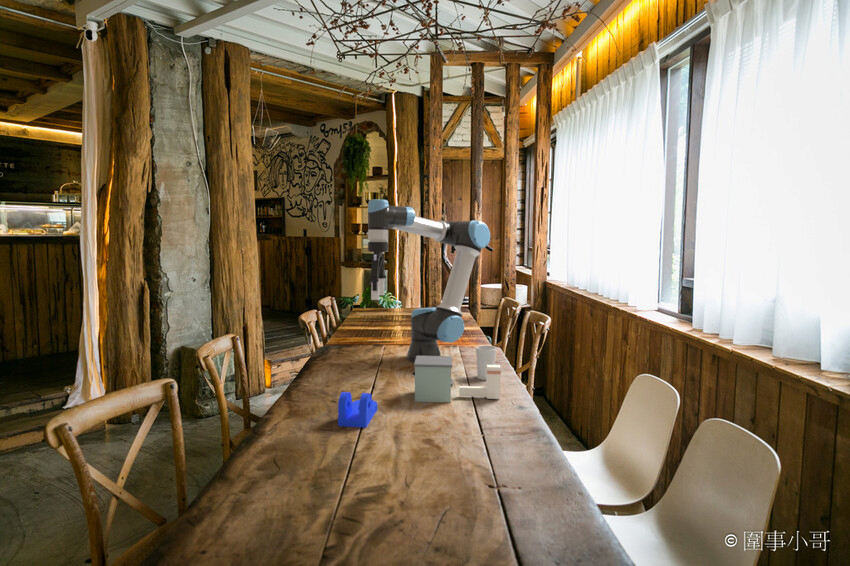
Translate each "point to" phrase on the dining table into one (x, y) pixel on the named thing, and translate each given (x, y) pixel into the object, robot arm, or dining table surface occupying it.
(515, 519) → the dining table surface
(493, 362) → the cup
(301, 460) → the dining table surface
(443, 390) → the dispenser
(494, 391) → the pink striped cream block
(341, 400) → the bracket
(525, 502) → the dining table surface
